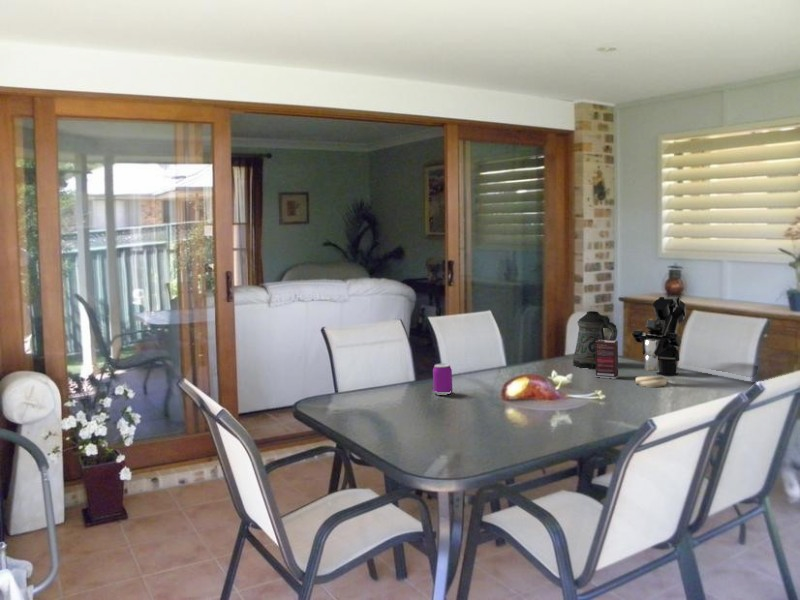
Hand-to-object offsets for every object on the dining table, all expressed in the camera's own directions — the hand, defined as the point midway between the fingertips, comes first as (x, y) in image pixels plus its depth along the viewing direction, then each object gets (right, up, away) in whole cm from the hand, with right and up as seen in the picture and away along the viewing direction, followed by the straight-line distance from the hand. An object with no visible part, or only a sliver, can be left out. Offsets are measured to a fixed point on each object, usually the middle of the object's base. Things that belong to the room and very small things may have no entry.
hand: (649, 354), depth 297 cm
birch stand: (+1, -12, +2) cm, 12 cm away
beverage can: (-84, -16, 0) cm, 85 cm away
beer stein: (-12, -8, +40) cm, 43 cm away
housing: (+1, -6, +2) cm, 7 cm away
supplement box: (-13, -11, +17) cm, 24 cm away
